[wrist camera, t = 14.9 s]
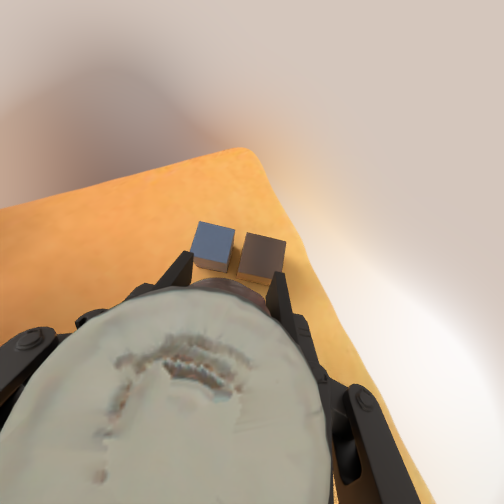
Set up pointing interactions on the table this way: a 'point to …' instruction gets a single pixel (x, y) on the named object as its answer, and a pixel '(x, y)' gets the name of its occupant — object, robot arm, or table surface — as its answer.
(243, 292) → the sauce bottle
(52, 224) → the table surface
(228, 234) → the slate block
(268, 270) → the walnut block
